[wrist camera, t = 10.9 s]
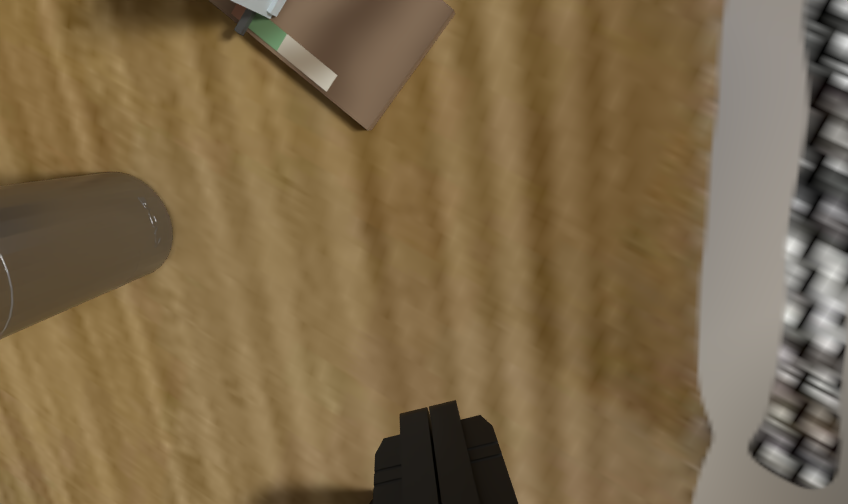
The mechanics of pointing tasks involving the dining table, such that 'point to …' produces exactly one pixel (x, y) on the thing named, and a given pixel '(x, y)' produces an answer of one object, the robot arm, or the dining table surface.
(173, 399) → the dining table surface
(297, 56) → the board
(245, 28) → the panel
